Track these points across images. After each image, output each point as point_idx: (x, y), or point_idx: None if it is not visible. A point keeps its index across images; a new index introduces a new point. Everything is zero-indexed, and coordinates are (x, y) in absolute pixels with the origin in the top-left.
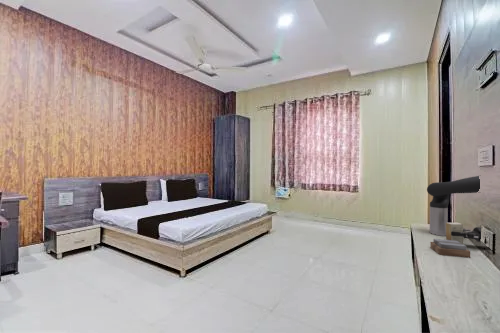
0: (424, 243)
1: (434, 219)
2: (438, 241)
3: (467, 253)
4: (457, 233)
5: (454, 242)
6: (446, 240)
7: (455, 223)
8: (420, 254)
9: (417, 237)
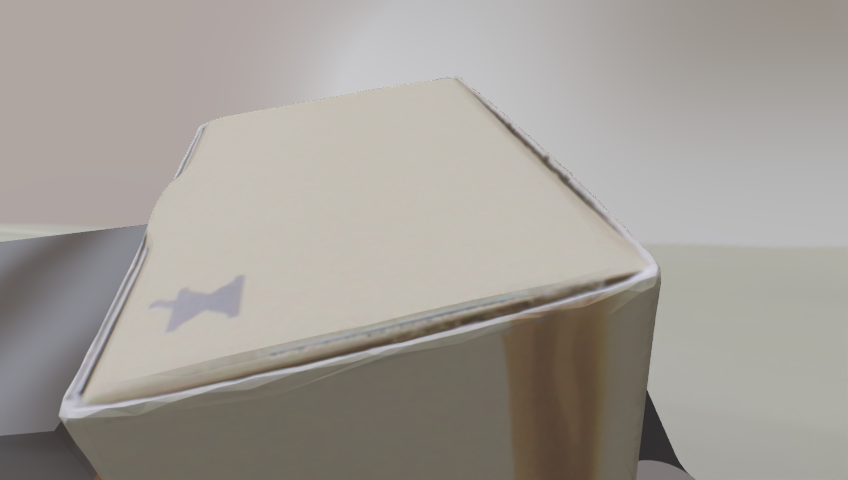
0: None
1: None
2: (72, 237)
3: None
4: None
5: None
6: (93, 306)
7: (279, 180)
8: (80, 229)
9: (717, 250)
